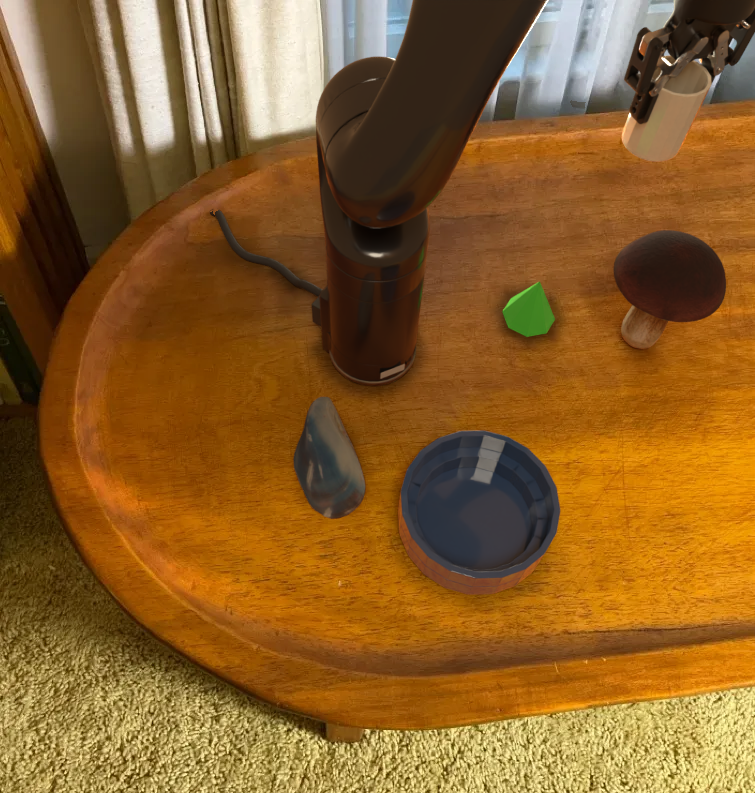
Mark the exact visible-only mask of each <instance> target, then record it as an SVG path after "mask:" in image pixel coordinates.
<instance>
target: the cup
mask: <svg viewBox="0 0 755 793" xmlns="http://www.w3.org/2000/svg"><path fill="white" fill-rule="evenodd" d="M664 58H665V59H666V60H667V61H668V62H669V63H670V64H671V65H673V64H674V63H675V61H676V60H675V59H674V58H673V57H672V56H671V55H669V54H668V55H664ZM701 64H702V63H700V62H698V61H696V60H693V61H691V62H690V63H688V64H687V65H686V66H685V68H684V69H683V70H682V71H681V73H680V74H679V75H678V76H677V77H676V78H670V79H669V81H668V82H667V83H666V84H665V86H664V87H663V88H662V89H661V91H660V92H659V93H658V94H659V96H658V98H657V101H656V103H655V105H654V108H653V110H652V113H651V115H650V117H649V120H648V122H646V123H643V124H639V123H638V122H637V121H636V120H635V119H634V118H633V117H632V116H631V114H630V113H629V112H628V113H629V114H628V116H627V119H626V121H625V123H624V125H623V128H622V132H621V142H622V144H623V146H624V147H625V149H626V150H627V151H628V152H629V153H630V154H631V155H633V156H634V157H636V158H638V159H641V160H644V161H647V162H655V163H658V162H659V163H660V162H668V161H669V160H671V159H674V158H675V157H676V156H677V155H678V154H679V152H680V150H681V149H682V147H683V145H684V143H685V141H686V139H687V137H688V134H689V132H690V131H691V128H692V126H693V125H694V122H695V120H696V118H697V116H698V113H699V112H700V109H701V107H702V106H703V104H704V102H705V99H706V97H707V95H708V93H709V91H710V89H711V87H712V85H713V83H712V82H711V75H710V74H709V72H708V71H707V69H706V68H705V67H703V66H702V65H701ZM660 74H661V69H660V68H659V67H658V68H657V69H656V70H655V72H654V74H653V77H652V78H653V79H654V80H656V79H657V78H658V77H659V75H660ZM711 84H712V85H711Z"/></svg>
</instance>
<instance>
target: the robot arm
mask: <svg viewBox="0 0 755 793" xmlns="http://www.w3.org/2000/svg"><path fill="white" fill-rule="evenodd" d="M547 3H549V0H412V2H411V6H410V12H409V16H408V20H407V24H406V28H405V31H404V35H403V38H402V40H401V43H400V46H399V49H398V51H397V54H396V56H395V58H393V57H388V56H379V55H378V56H369V57H364V58H360V59H357V60H354V61H353V62H351V63H349V64H346V65H345V66H344V67H342V68H341V69H340V70H338V71H337V72H336V73H335V74H334V75H333V76H332V77H331V79H330V80H329V81H328V82H327V84H326V85H325V86H324V88H323V90H322V92H321V94H320V97H319V100H318V103H317V105H316V106H317V107H316V110H315V111H316V112H315V140H316V141H315V143H316V156H317V157H316V158H317V171H318V184H319V186H318V187H319V197H320V198H319V200H320V208H321V216H322V224H323V233H324V246H325V266H326V267H325V268H326V284H327V285H326V286H324V288H321V287H320V286H317V285H315V284H314V283H312V282H310V281H308V280H306V279H300V278H299V277H298V276H297V275H296V274H295V273H293V272H292V270H290V269H289V268H288V266H286V265H284V264H283V263H281V262H280V261H278V260H276V259H274V258H271V257H268V256H264V255H259V254H255V253H252V252H250V251H248V250H246V249H245V248H243V247H242V246H241V245H240V244H239V243H238V240H237V239H236V238H235V236H234V235H233V232H232V230H231V227H230V226H229V223H228V221H227V219H226V217H225V214H224V213H223V211H222V210H221V211H220V209H219V210H218V211H216V212H215V215H214V214H213V211H212V212H210V211H209V214H210V215H211V217H215V216H216V217H215V218H216V219H217V222H218V225H219V227H220V229H221V231H222V234H223V236H224V238H225V240H226V242H227V243H228V245H229V246H230V248H231V249H232V250H233V252H234V253H235V254H236V255H237V256H239V257H240V258H241V259H243V260H245V261H247V262H250V263H254V264H258V265H262V266H267V267H269V268H272V269H273V270H276V271H277V273H279V274H281V275H282V277H284V278H285V279H286V280H287V281H288V282H290V284H292V285H293V286H295V288H298V289H302V290H305V291H307V292H308V293H311V295H313V296H315V297H317V298H316V299H315V300H314V301H313V302H312V303H311V316H312V323H314V324H316V325H317V326H319V327H320V329H321V341H322V342H321V343H322V346H321V347H322V350H323V351H324V352H326V353H328V354H329V358H330V361H331V363H332V365H333V367H334V368H335V370H336V371H337V373H339V374H340V375H341V376H342V377H343V378H344V379H346V380H347V381H350V382H352V383H353V384H354V383H355V384H357V385H361V386H366V387H379V386H380V387H381V386H386V385H389V384H393V383H394V382H397V381H398V380H400V379H402V378H403V377H404V376H405V375H406V374H407V373H408V372H409V371H410V369H411V368H412V367H413V365H414V362H415V359H416V354H417V345H418V344H417V340H418V332H419V325H420V316H421V308H422V300H423V292H424V284H425V276H426V268H427V267H426V266H427V259H428V249H429V244H430V233H431V219H430V211H429V210H430V209H429V206H431V204H433V203H434V202H435V201H436V199H437V198H438V197H439V196H440V194H441V193H442V192H443V190H444V189H445V187H446V185H447V184H448V182H449V180H450V179H451V177H452V176H453V173H454V171H455V169H456V167H457V165H458V164H459V161H460V159H461V157H462V155H463V153H464V151H465V150H466V147H467V145H468V143H469V141H470V139H471V137H472V134H474V131H475V129H476V127H477V125H478V123H479V120H480V118H481V117H482V114H483V113H484V110H485V108H486V106H487V104H488V103H489V101H490V99H491V97H492V94H493V93H494V92H495V90H496V88H497V86H498V84H499V82H500V80H501V78H502V77H503V76H504V74H505V72H506V70H507V69H508V67H509V66H510V64H511V62H512V61H513V59H514V57H515V56H516V54H517V53H518V51H519V49H520V48H521V47H522V44H523V43H524V42H525V39H526V38H527V36H528V35H529V33H530V32H531V30H532V29H533V27H534V25H535V24H536V22H537V20H538V19H539V17H540V15H541V13H542V11H543V10H544V8H545V7H546V5H547ZM754 35H755V0H673V11H672V13H671V14H670V16H669V17H668V19H667V20H666V22H665V23H664V25H663V27H662V28H659V29H656V30H654V31H651V29H649V28H648V27H647V26H643V27H642V28H641V29H639V31H638V32H637V33H636V38H635V41H634V44H633V47H632V51H631V54H630V57H629V61H628V64H627V67H626V71H625V74H624V78H623V80H624V82H625V83H626V84H627V85H628V86H629V87H630V88H631V89H632V90H633V91H634V92H635V93H634V94H633V98H632V100H631V103H630V106H629V108H628V113H630V114H631V116H632V117H633V118H634V119H635V120H636V121H637V122H638V123H639V124H643V123H646V122H648V120H649V117H650V115H651V113H652V110H653V108H654V105H655V103H656V101H657V98H658V96H659V94H658V93H659V92H660V91H661V89H662V88H663V87H664V86H665V84H666V83H667V82H668V81H669V79H670V78H676V77H677V76H678V75H679V74H680V73H681V71H682V70H683V69H684V68H685V66H686V65H687V64H688V63H690V62H691V61H693V60H694V61H696V60H698V61H699V63H700V64H701V65H702V66H703V67H705V68H706V69H707V71H708V72H709V74H710V75H711V82H712V84H711V86H712V85H713V83H714V80H715V78H716V77H717V76H719V75H721V74H722V73H723V71H724V70H725V68H726V66H728V65H729V66H730V67H734V66H736V65H737V64H738V63H739V62H740V60H741V58H742V56H743V55H744V54H745V51H746V50H747V47H748V46H749V44H750V43H751V41H752V39H753V38H754ZM733 40H735V42H736V44H735V45H734V48H732V47H731V46H730V45H731V43H732V42H733ZM666 51H667V53H668V55H671V56H672V57H673V58H674V59H675V60H676V61H675V63H674V64H673V65H671V64H670V63H669V62H668V61H667V60H666V59H665V58H664V56H665V54H666ZM658 67H659V68H660V69H661V74H660V75H659V77H658V78H657V79H656V80H654V79H653V78H652V77H653V74H654V72H655V70H656V69H657V68H658Z"/></svg>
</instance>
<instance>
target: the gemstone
mask: <svg viewBox="0 0 755 793" xmlns="http://www.w3.org/2000/svg"><path fill="white" fill-rule="evenodd" d="M501 313H502V315H503V318H504V320H505V323H506V325H507V328H508V329H509V330H512V331H514V332H516V333H518V334H520V335H522V336H524V337H526V338H529V337H534V336H539V335H546V334H547V333H549V332H548V331H549V330H550V329H551V327H552V325H553V324H554V322H555V321H556V318H555V315H554V313H553V310H552V308H551V305H550V302H549V301H548V298H547V295H546V293H545V290H544V288H543V286H542V283H541V281H537V282H536V283H534V284H533V285H530V287H527V288H526V289H524V290H522V291H520V292H519V293H517V294H516V295H514V296H512V297H511V298H510V299H509V301H508V302H507V303H506V305H505V307H504V308H503V309H502V311H501Z"/></svg>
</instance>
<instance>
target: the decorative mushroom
mask: <svg viewBox="0 0 755 793" xmlns="http://www.w3.org/2000/svg"><path fill="white" fill-rule="evenodd" d="M612 270H613V279H614V281H615V284H616V287H617V289H618V290H619V292H620V293H621V295H622V297H623V298H624V299H625V300H626V301H627V302H628V303H629V304H630V305H631V306H630V308H629V310H628V311H627V313H626V315H625V316H624V318H623V320H622V323H621V329H620V332H621V337H622V339H623V341H624V342H625V343H626V344H628V345H629V346H630V347H632V348H635V349H641V350H642V349H643V350H646V349H649V348H651V347H652V346H654V345H655V344H656V343H657V341H658V340H659V339H660V338H661V337H662V334H663V333H664V331H665V329H666V327H667V326H668V323H669V322H673V323H692V322H698V321H701V320H704V319H706V318H708V317H711V316H712V315H713V314H714V313H716V311H717V310H718V309H720V307H721V306H722V304H723V302H724V299H725V297H726V292H727V278H726V271H725V267H724V265H723V262H722V260H721V258H720V257H719V255H718V254H717V253H716V251H715V250H714V249H713V248H712V247H711V246H710V245H709V244H707V242H705V241H704V240H703V239H700V238H699V237H697V236H695V235H693V234H690V233H687V232H683V231H680V230H673V229H671V230H670V229H661V230H656V231H653V232H650V233H647V234H645V235H642V236H640V237H638V238H637V239H635V240H632V241H631V242H630V243H628V244H627V245H625V246H624V247H622V249H621V250H620V251H619V252H618V254H617V255H616V257H615V260H614V263H613V269H612Z"/></svg>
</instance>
